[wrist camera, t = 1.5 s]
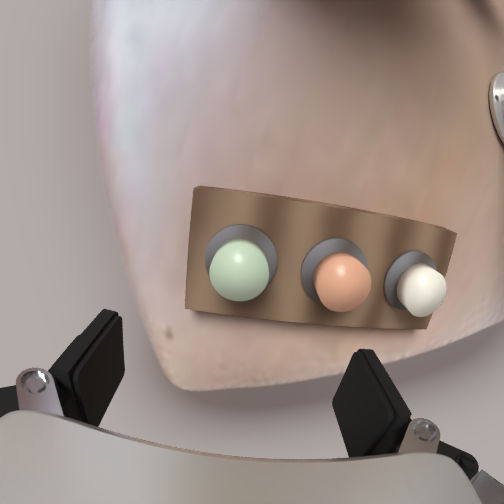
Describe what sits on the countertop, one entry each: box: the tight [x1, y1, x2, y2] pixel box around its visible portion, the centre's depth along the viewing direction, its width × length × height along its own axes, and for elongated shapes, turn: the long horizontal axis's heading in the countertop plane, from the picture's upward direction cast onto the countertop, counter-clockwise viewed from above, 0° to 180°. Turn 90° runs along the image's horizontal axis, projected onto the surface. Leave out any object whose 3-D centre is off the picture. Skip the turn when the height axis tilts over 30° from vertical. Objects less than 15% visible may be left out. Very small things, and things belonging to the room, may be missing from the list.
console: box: [185, 186, 457, 329], centre depth 29 cm, size 28×12×4 cm, turn 82°
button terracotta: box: [313, 252, 371, 312], centre depth 25 cm, size 5×5×2 cm
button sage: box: [209, 238, 269, 301], centre depth 25 cm, size 5×5×2 cm
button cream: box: [397, 263, 446, 317], centre depth 25 cm, size 5×5×2 cm
